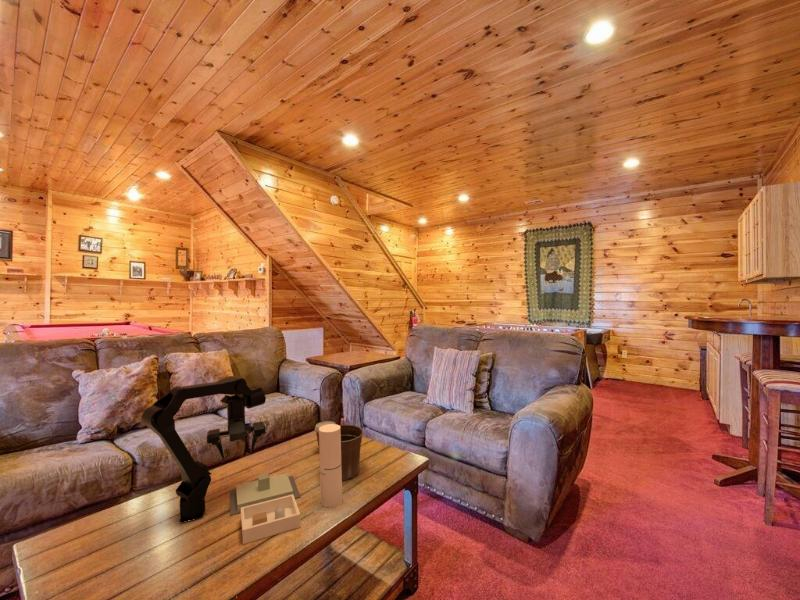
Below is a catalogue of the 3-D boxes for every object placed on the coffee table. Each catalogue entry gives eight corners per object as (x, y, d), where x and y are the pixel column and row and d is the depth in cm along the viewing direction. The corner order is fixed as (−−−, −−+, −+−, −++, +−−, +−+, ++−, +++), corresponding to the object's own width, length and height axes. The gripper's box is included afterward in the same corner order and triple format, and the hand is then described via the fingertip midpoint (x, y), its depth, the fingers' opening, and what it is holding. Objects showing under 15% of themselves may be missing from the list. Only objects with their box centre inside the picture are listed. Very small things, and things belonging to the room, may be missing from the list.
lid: (237, 511, 119) (236, 492, 118) (236, 490, 131) (235, 473, 131) (293, 496, 126) (292, 479, 126) (287, 478, 138) (286, 462, 138)
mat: (230, 515, 117) (230, 514, 117) (229, 491, 131) (229, 490, 131) (300, 497, 126) (300, 496, 126) (292, 476, 140) (292, 475, 140)
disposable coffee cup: (339, 447, 166) (339, 420, 165) (334, 456, 156) (333, 429, 156) (319, 446, 167) (318, 420, 166) (312, 456, 157) (311, 428, 157)
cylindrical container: (337, 508, 119) (335, 432, 119) (317, 506, 121) (315, 431, 120) (345, 496, 126) (343, 424, 126) (325, 494, 128) (324, 423, 127)
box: (242, 544, 103) (242, 530, 103) (241, 520, 114) (240, 507, 114) (300, 527, 110) (300, 514, 110) (293, 506, 121) (293, 494, 121)
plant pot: (361, 484, 134) (360, 441, 133) (317, 484, 134) (316, 441, 133) (366, 463, 150) (365, 424, 149) (327, 463, 150) (326, 424, 150)
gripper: (205, 424, 118) (207, 472, 119) (266, 414, 126) (267, 459, 127) (206, 414, 128) (208, 458, 129) (263, 405, 136) (264, 447, 137)
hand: (237, 455), depth 130 cm, fingers open, 9 cm apart
